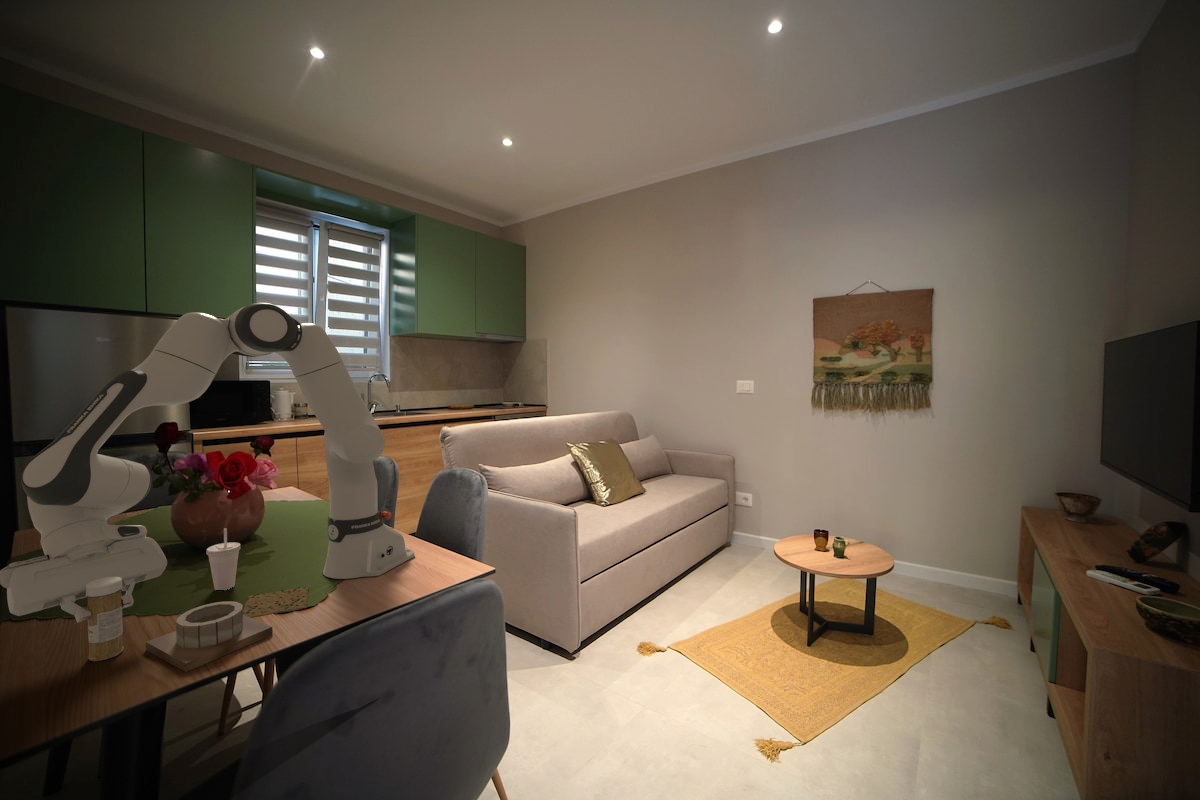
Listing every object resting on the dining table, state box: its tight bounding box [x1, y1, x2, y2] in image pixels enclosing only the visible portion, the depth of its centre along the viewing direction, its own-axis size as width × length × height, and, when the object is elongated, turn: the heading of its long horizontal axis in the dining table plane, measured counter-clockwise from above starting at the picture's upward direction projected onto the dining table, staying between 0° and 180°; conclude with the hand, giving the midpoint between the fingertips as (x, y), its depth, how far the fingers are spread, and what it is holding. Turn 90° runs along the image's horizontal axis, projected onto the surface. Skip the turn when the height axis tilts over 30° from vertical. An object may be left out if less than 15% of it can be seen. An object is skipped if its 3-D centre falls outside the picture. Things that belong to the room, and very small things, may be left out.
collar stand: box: [145, 600, 274, 673], centre depth 93 cm, size 14×14×6 cm
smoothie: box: [206, 527, 241, 591], centre depth 116 cm, size 6×6×14 cm
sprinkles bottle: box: [86, 577, 125, 662], centre depth 88 cm, size 5×5×13 cm
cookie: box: [243, 586, 310, 619], centre depth 110 cm, size 12×12×1 cm
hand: (106, 612), depth 88 cm, fingers closed on sprinkles bottle, 4 cm apart
